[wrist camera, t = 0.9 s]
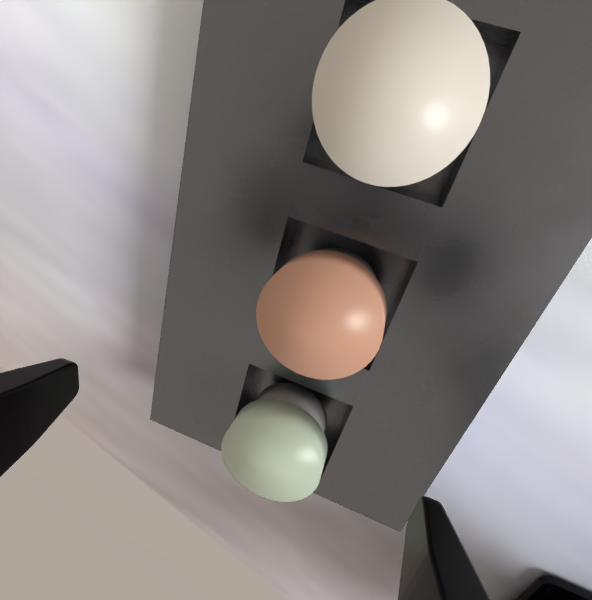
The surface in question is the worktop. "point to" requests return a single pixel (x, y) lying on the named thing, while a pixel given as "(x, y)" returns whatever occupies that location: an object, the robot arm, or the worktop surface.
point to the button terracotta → (323, 314)
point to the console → (373, 237)
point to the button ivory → (400, 90)
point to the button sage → (278, 443)
